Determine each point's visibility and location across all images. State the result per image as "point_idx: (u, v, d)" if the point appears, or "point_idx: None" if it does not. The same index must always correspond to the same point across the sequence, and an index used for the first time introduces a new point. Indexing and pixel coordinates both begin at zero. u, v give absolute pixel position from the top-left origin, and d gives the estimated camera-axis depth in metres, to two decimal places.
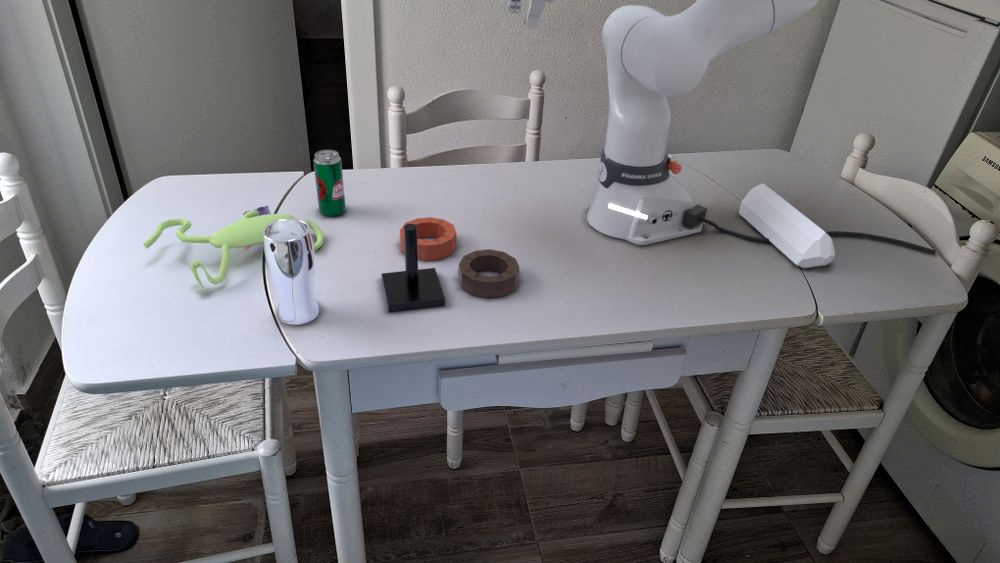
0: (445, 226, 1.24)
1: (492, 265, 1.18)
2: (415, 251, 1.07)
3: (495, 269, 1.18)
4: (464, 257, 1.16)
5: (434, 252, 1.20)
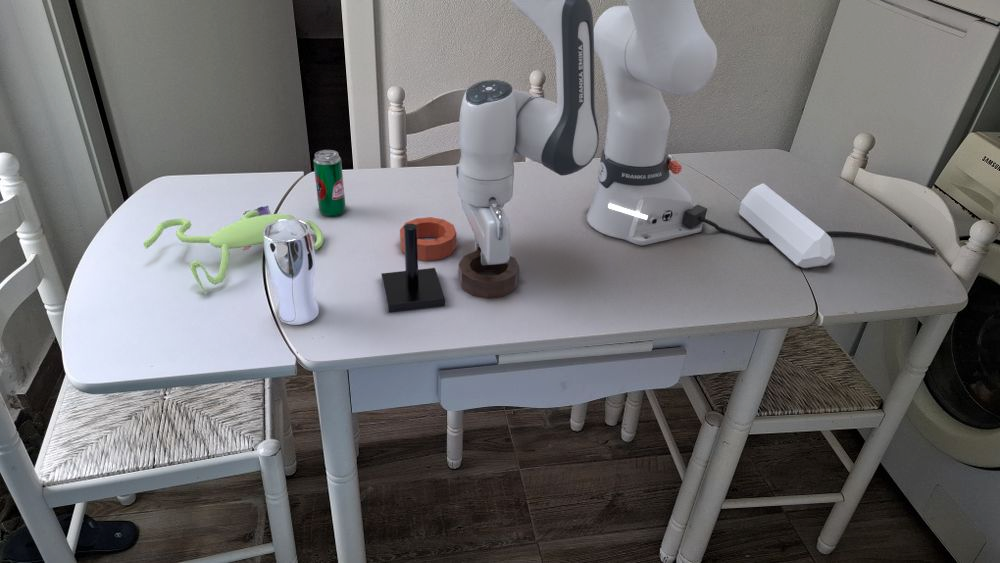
0: (445, 226, 1.24)
1: (492, 265, 1.18)
2: (415, 251, 1.07)
3: (495, 269, 1.18)
4: (464, 257, 1.16)
5: (434, 252, 1.20)
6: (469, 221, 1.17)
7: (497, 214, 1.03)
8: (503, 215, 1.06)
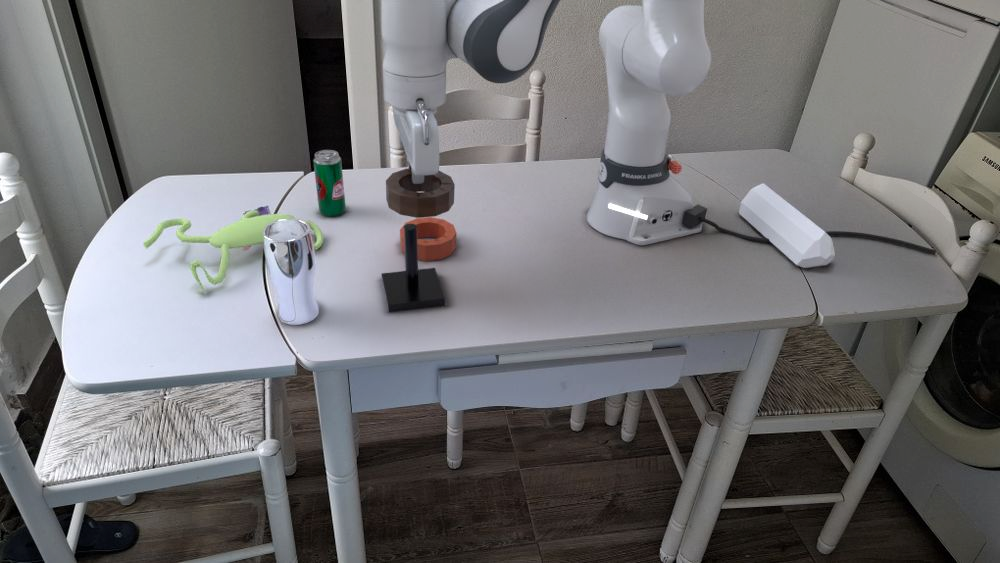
0: (445, 226, 1.24)
1: (425, 185, 1.05)
2: (415, 251, 1.07)
3: (429, 190, 1.05)
4: (393, 174, 1.03)
5: (434, 252, 1.20)
6: (400, 135, 1.04)
7: (423, 113, 0.90)
8: (431, 117, 0.93)
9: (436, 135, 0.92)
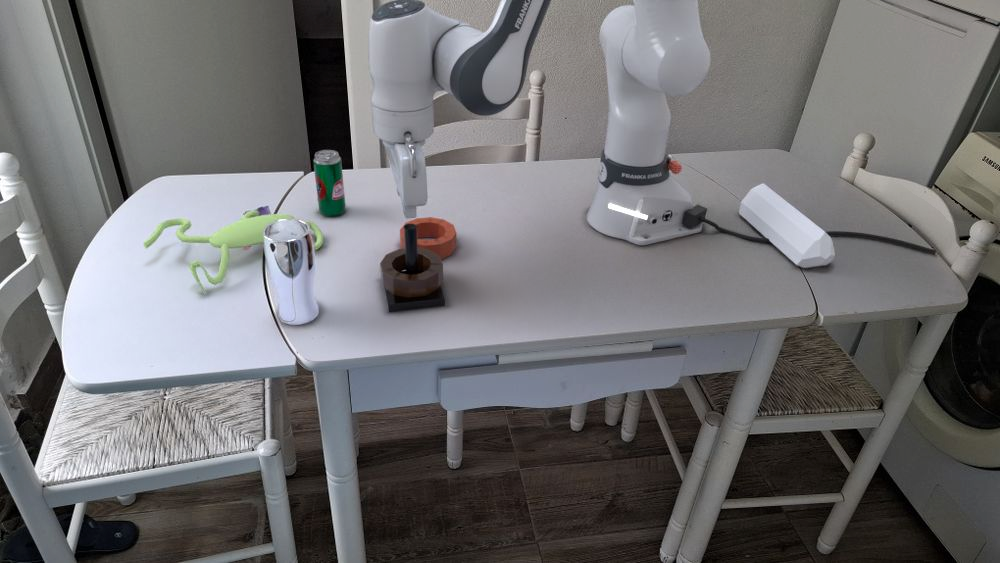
0: (445, 226, 1.24)
1: None
2: (415, 251, 1.07)
3: (420, 267, 1.15)
4: (387, 255, 1.12)
5: (434, 252, 1.20)
6: (390, 164, 1.06)
7: (410, 148, 0.93)
8: (419, 151, 0.95)
9: (423, 168, 0.94)
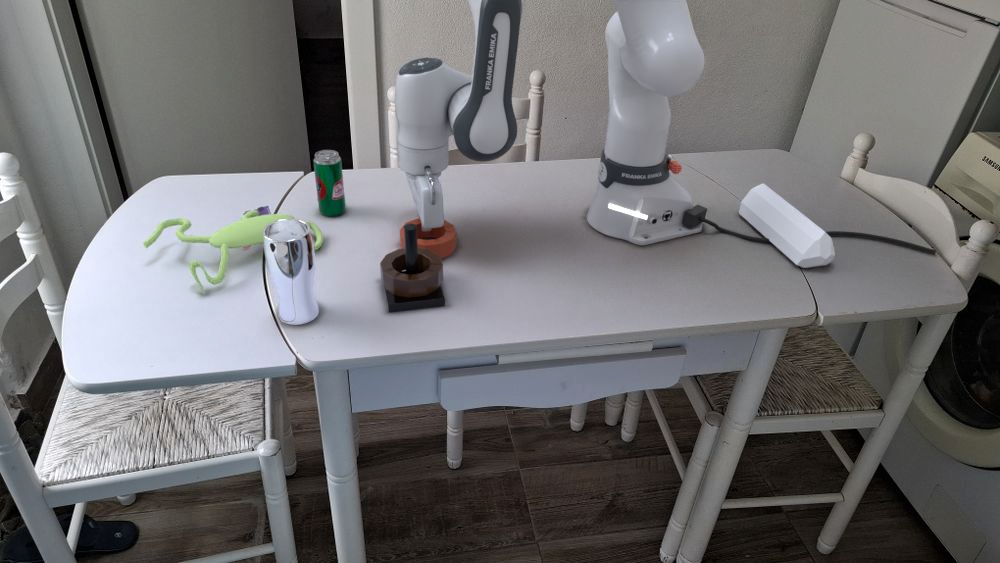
0: (445, 226, 1.24)
1: None
2: (415, 251, 1.07)
3: (420, 267, 1.15)
4: (387, 255, 1.12)
5: (434, 252, 1.20)
6: (411, 190, 1.25)
7: (430, 180, 1.12)
8: (437, 182, 1.14)
9: (441, 197, 1.13)
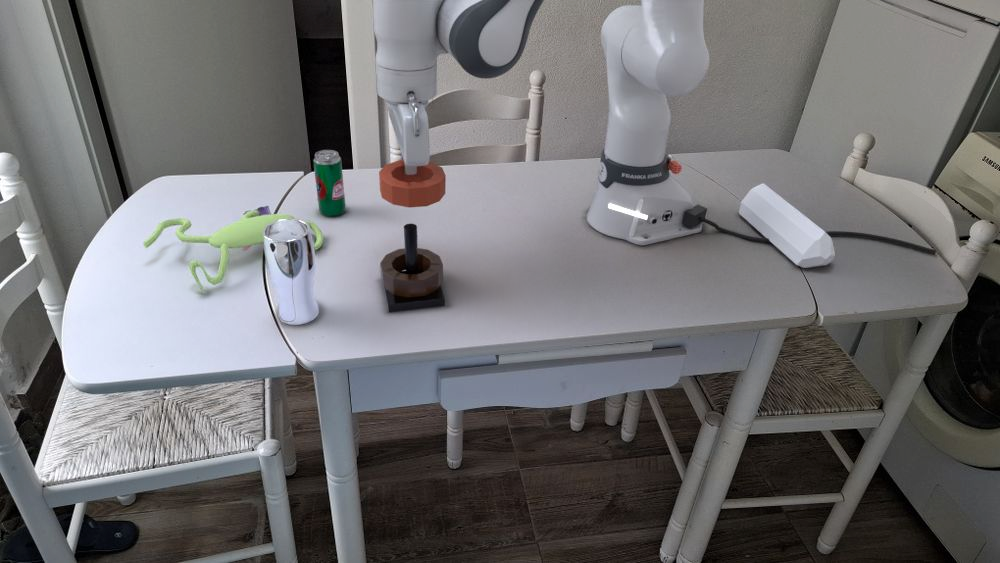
0: (432, 169, 1.06)
1: None
2: (415, 251, 1.07)
3: (420, 267, 1.15)
4: (387, 255, 1.12)
5: (419, 197, 1.02)
6: (393, 127, 1.07)
7: (413, 106, 0.94)
8: (422, 110, 0.96)
9: (426, 127, 0.95)
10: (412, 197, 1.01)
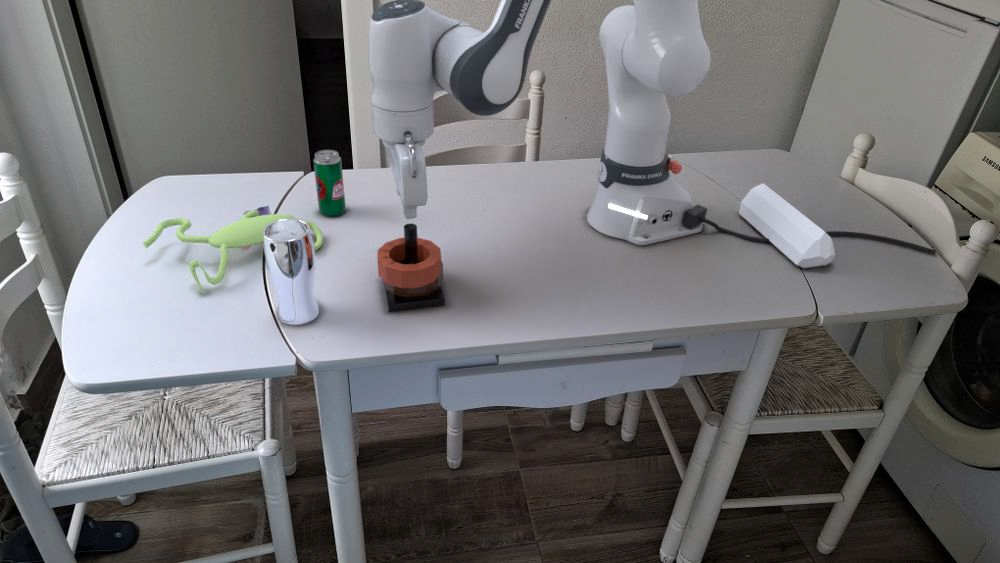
0: (430, 249, 1.08)
1: None
2: (415, 251, 1.07)
3: None
4: None
5: (412, 279, 1.04)
6: (390, 164, 1.06)
7: (410, 148, 0.93)
8: (419, 151, 0.95)
9: (423, 168, 0.94)
10: (405, 279, 1.04)
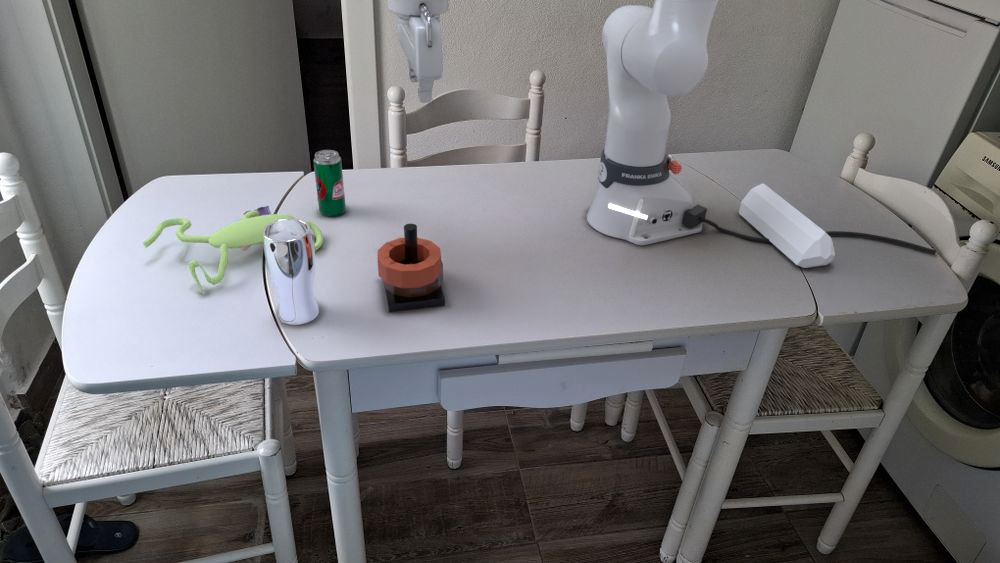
0: (430, 249, 1.08)
1: None
2: (415, 251, 1.07)
3: None
4: None
5: (412, 279, 1.04)
6: (404, 48, 1.06)
7: (426, 15, 0.92)
8: (434, 21, 0.95)
9: (439, 38, 0.94)
10: (405, 279, 1.04)
